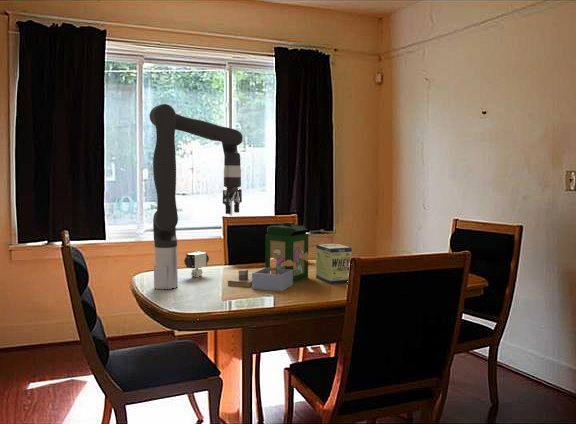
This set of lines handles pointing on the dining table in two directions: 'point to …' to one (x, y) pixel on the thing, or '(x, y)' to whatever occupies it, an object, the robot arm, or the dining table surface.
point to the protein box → (333, 262)
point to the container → (288, 248)
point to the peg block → (273, 266)
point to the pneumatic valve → (196, 262)
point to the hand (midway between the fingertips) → (232, 213)
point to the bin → (272, 279)
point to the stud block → (241, 279)
